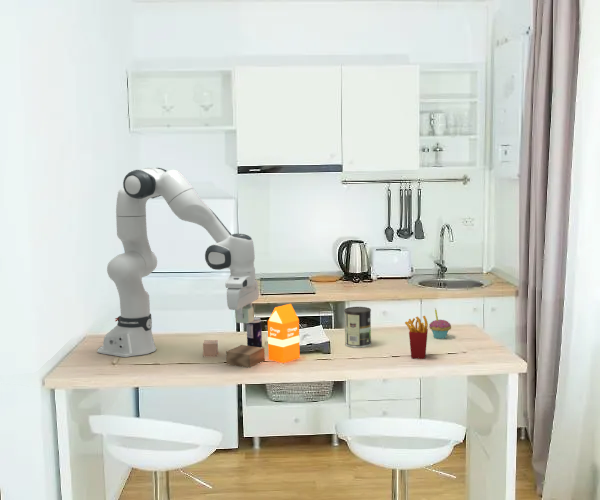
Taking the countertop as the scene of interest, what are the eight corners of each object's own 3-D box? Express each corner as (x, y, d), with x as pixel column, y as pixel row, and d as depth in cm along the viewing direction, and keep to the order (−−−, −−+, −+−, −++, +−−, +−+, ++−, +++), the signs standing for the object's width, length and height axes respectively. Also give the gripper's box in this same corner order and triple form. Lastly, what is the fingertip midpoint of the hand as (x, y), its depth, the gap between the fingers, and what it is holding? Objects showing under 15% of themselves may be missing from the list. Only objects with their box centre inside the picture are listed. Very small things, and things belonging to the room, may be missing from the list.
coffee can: (370, 340, 304) (369, 306, 302) (372, 347, 294) (371, 311, 292) (344, 341, 304) (343, 306, 302) (345, 348, 294) (344, 312, 292)
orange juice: (268, 359, 281) (266, 306, 278) (285, 354, 287) (283, 302, 284) (283, 363, 276) (282, 309, 273) (300, 357, 282) (299, 304, 279)
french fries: (427, 359, 276) (427, 319, 274) (404, 358, 278) (404, 318, 276) (428, 353, 284) (428, 313, 282) (406, 352, 286) (406, 313, 284)
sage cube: (235, 322, 274) (235, 309, 274) (241, 319, 279) (240, 306, 278) (248, 323, 273) (247, 309, 272) (253, 320, 277) (253, 306, 277)
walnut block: (226, 365, 276) (226, 351, 275) (241, 357, 285) (241, 344, 284) (249, 368, 271) (249, 354, 271) (264, 361, 280) (264, 347, 279)
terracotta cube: (203, 356, 287) (202, 343, 286) (204, 353, 292) (204, 340, 291) (216, 356, 287) (216, 343, 286) (218, 352, 292) (217, 340, 291)
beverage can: (260, 350, 293) (259, 320, 291) (245, 350, 294) (244, 319, 292) (263, 346, 298) (262, 316, 297) (249, 346, 299) (248, 316, 298)
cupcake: (429, 339, 303) (429, 310, 302) (429, 334, 312) (429, 305, 310) (451, 340, 302) (451, 310, 300) (450, 334, 310) (450, 305, 309)
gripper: (246, 273, 284) (247, 310, 286) (223, 283, 265) (224, 322, 267) (262, 274, 282) (263, 311, 284) (239, 284, 263) (241, 323, 265)
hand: (244, 316), depth 275 cm, fingers closed on sage cube, 5 cm apart
